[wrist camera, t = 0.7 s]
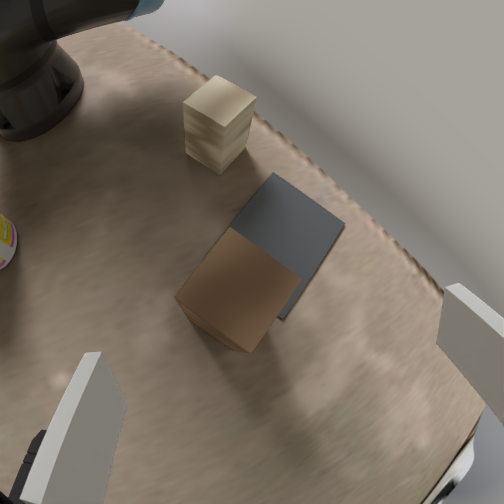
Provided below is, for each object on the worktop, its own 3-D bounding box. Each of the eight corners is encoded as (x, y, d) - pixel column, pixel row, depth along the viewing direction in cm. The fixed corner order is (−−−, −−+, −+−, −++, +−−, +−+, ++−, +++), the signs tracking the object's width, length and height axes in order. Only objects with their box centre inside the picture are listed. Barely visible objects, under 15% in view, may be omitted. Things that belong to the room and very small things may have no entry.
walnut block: (188, 319, 31) (174, 297, 17) (219, 279, 33) (229, 226, 18) (230, 349, 31) (251, 353, 17) (259, 308, 32) (302, 278, 18)
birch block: (185, 153, 36) (182, 102, 28) (212, 126, 38) (216, 74, 29) (219, 175, 36) (224, 126, 27) (245, 147, 37) (256, 97, 29)
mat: (202, 261, 33) (202, 260, 33) (272, 173, 37) (273, 172, 37) (282, 319, 32) (283, 319, 32) (343, 224, 36) (344, 223, 36)
